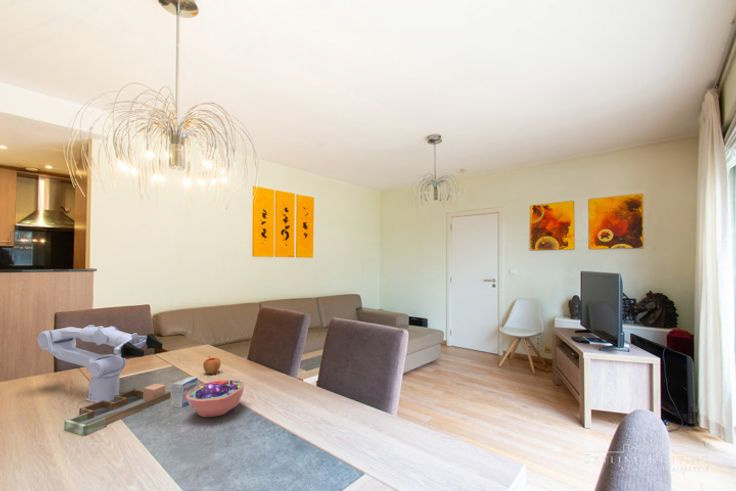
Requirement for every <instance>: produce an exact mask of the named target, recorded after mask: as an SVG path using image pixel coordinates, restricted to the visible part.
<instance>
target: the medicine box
mask: <svg viewBox="0 0 736 491" xmlns="http://www.w3.org/2000/svg"><path fill="white" fill-rule="evenodd" d="M198 381H199V380H198V377H197V376H186V377H184V378H183V379H182V378H181V379H180V380H178V381H176V382H174V383H172V386H171V389H172V390H171V407H172V408H173V407H175V408H184V407H185V406H187V405H190V404H189V402H188V400H187V398H186V395H187V393H188V392H190V391H191V390H193V389H195V388H196V387H197V386H198Z"/></svg>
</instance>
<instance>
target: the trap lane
mask: <svg viewBox="0 0 736 491" xmlns="http://www.w3.org/2000/svg"><path fill="white" fill-rule="evenodd" d="M170 399H172V391H167V392H165V393H164V394H162V395H160V396H157V397H155V398H152V399H150V400H147V401H144V400H143V389H138V388H133V389H131V390H128V391H125V392H122V393H119V395H116V396H114V400H113V401H112V400H111V401H107V400H102V401H100V402H94V403H92V404H88V405H86V406H83V407H81V408H79V410H78V411H79V412H78V414H79V415H77V416H75V417H71V418H69V419H65V420H64V428H63V429H64V430H65V431H67V432H70V433H74V434H76V435H80V436H84V437H85V436H88V435H90V434H92V433H95V432H97V431H99V430H102V429H104V428H106V427H108V425H110V424H112V423H115V422H116V421H120V420H121V419H124V418H127V417H128V416H131V415H134V414H136V413H139V412H141V411H143V410H145V409H148V408H150V407H152V406H155V405H157V404H160V403H162V402H165V401H166V400H170Z"/></svg>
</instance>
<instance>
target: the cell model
mask: <svg viewBox="0 0 736 491" xmlns="http://www.w3.org/2000/svg"><path fill="white" fill-rule="evenodd" d="M244 387H245V383H244V382H243V381H241V380H238V379H227V380H212V381H210V382H204V383H201V384H199V385H197V387H196V388H195V389H193V390H191V391H190V392H188V393H187V395H186V398H187V400H188V402H189V404H188V405H189V406H190V407H191V408H192V409H193V410H194V412H195V413H196V414H198V415H199V416H200V417H203V418H211V417H212V418H213V417H215V418H216V417H220V416H223V415H225V414H226V413H228V412H230V411H231V410H233V409H234V408H235V407H237V406H238V405H239V403H240V401H241V399H242V396H243V393H244Z"/></svg>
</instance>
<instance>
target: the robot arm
mask: <svg viewBox="0 0 736 491" xmlns="http://www.w3.org/2000/svg"><path fill="white" fill-rule="evenodd" d="M76 339H79V340H80V341H82V342H86V343H95V346H100V345H103V344H104V345H107V346H111V347H114V348H113V354H100V353H96V352H93V351H90V350H86V349H83V348H82V349H81V348H78V347H77V341H76ZM37 343H38V346H39V348H40V350H44V351H48V353H50V355H52V356H54V357H55V358H56V359H57V360H60V361H64V362H68V363H71V364H74V365H78V366H81V367H84V368H86V372H87V373H89V374H90V375H92V377H91V378H90V380H89V384H88V397H87V398H85V401H88V402H89V401H90V402H94V403H97V402H100V401H102V400H107V401H111V402H112V401H114V396H116V395H119V394H120V393H119V391H120V376H121V375H120V374H122V372H123V371H122V370H124V368H125V367H126V364H127V363H126V361H127V360H126V358H133V357H137V358H139V357H140V358H142V357H144V356H145V350H144V349H142V347H144V346H145V345H146V349H147V350H149V349H155V350H162V349H163V342H161V341H160V340H159V339H157V338H156V336H155V334H154V333H148V334H147V335H139V334H138V333H137V332H135V333H132V334H131V333H127V332H124V331H121V330H119V329H118V328H117V327H116V326H113V325H110V326H108V327H104V326H103V325H100V326H95V325H94V324H89V325H87V326H85V327H84V328H80V327H74V326H66V327H63V328H59V329H58V328H57V329H51V330H43V331H41V332H40V333H39V335H38V337H37Z"/></svg>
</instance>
